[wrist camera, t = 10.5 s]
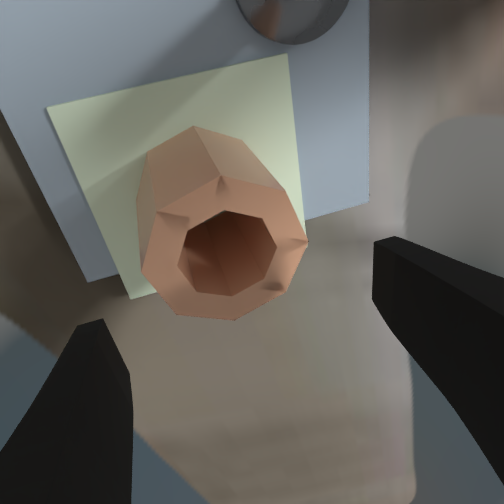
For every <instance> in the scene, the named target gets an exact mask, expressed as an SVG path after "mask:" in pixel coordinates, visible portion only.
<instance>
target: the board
mask: <svg viewBox="0 0 504 504" xmlns="http://www.w3.org/2000/svg"><path fill="white" fill-rule="evenodd" d="M282 53H287V54H288V64H289V74H290V84H291V94H292V103H293V113H294V123H295V133H296V142H297V152H298V162H299V172H300V182H301V191H302V201H303V211H304V220H308V219H311V218H315V217H318V216H322V215H325V214H329V213H332V212H336V211H339V210H343V209H346V208H350V207H353V206H357V205H360V204H363V203H367V202H369V0H349V2H348V4H347V7H346V9H345V10H344V12H343V14H342V15H341V17H340V18H339V19H338V21H337V22H336V23H335V24H334V25H333V27H332V28H331V29H329V30H328V31H327V32H326V33H325V34H323V35H322V36H320V37H319V38H317V39H315V40H313V41H311V42H307V43H304V44H298V45H287V44H281V43H278V42H274V41H271V40H269V39H267V38H265V37H263V36H261V35H260V34H259V33H257V32H256V31H255V30H254V29H253V28H252V27H251V26H250V25H249V24H248V23H247V21H246V20H245V19H244V17H243V15H242V14H241V12H240V10H239V8H238V6H237V3H236V0H0V110H1V112H2V114H3V116H4V118H5V120H6V122H7V124H8V125H9V127H10V129H11V131H12V133H13V135H14V137H15V139H16V141H17V143H18V145H19V147H20V149H21V151H22V153H23V155H24V157H25V159H26V161H27V163H28V165H29V167H30V169H31V171H32V173H33V175H34V177H35V179H36V181H37V183H38V185H39V187H40V189H41V191H42V193H43V195H44V197H45V199H46V201H47V203H48V205H49V207H50V209H51V211H52V213H53V215H54V217H55V219H56V221H57V223H58V225H59V227H60V229H61V230H62V232H63V234H64V236H65V238H66V240H67V242H68V244H69V246H70V248H71V250H72V252H73V254H74V256H75V258H76V260H77V262H78V264H79V266H80V268H81V270H82V272H83V274H84V276H85V278H86V280H87V282H92V281H95V280H99V279H102V278H106V277H109V276H113V275H116V274H119V272H118V270H117V267H116V265H115V263H114V261H113V258H112V256H111V254H110V252H109V249H108V247H107V245H106V242H105V240H104V238H103V236H102V233H101V231H100V229H99V227H98V224H97V222H96V220H95V217H94V215H93V213H92V211H91V208H90V206H89V204H88V202H87V199H86V197H85V195H84V193H83V190H82V188H81V186H80V183H79V181H78V179H77V177H76V174H75V172H74V170H73V168H72V165H71V163H70V161H69V159H68V156H67V154H66V152H65V149H64V147H63V145H62V143H61V140H60V138H59V136H58V134H57V131H56V129H55V127H54V125H53V122H52V120H51V118H50V115H49V113H48V111H47V109H46V107H48V106H52V105H57V104H61V103H65V102H70V101H74V100H79V99H83V98H87V97H92V96H96V95H101V94H105V93H109V92H114V91H118V90H123V89H127V88H132V87H136V86H140V85H145V84H149V83H154V82H158V81H162V80H167V79H171V78H176V77H180V76H184V75H189V74H193V73H198V72H202V71H207V70H211V69H215V68H220V67H224V66H229V65H233V64H237V63H242V62H246V61H251V60H255V59H260V58H264V57H268V56H273V55H277V54H282Z"/></svg>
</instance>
